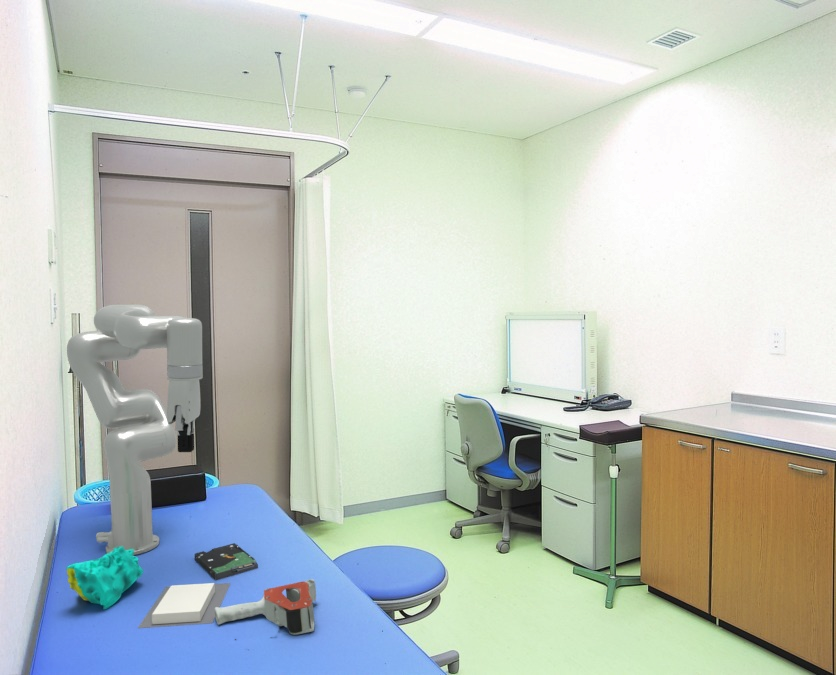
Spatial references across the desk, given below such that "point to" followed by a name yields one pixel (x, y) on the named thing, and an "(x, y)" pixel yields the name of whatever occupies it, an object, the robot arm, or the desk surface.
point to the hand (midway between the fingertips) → (186, 451)
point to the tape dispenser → (278, 607)
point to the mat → (206, 619)
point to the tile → (184, 603)
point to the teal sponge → (105, 576)
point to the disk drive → (226, 561)
